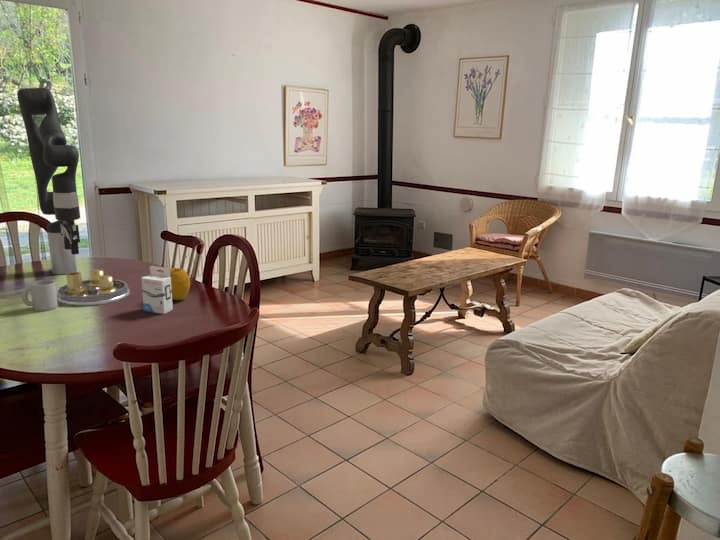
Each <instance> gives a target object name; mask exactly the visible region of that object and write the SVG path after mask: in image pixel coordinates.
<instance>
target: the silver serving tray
mask: <svg viewBox="0 0 720 540" xmlns="http://www.w3.org/2000/svg"><path fill="white" fill-rule="evenodd" d="M89 273H90V279H85V280H82V285H83V288H85V289H87V295H85V296H72V295H68V294H65V293H64V291H65V290H68V286H67V284H65V285H63V286H60V287H59V289H58V290H57V302H58V304H62V305H65V306H70V307H93V306H94V307H95V306H102V305H107V304H112V303H115V302H119V301H122V300H124V299H126V298H127V297H129V295H130V292H131V291H130V288H129V286H128V285H129V284H128V283H127V282H126V281H125V280H121V279H115V278H113V276H112V275H105V274H104V273H105V272H104V269H93V270H90V272H89Z"/></svg>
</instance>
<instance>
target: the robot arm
mask: <svg viewBox="0 0 720 540" xmlns="http://www.w3.org/2000/svg"><path fill="white" fill-rule="evenodd" d="M16 96H17V101H18V106H19V110H20V113H21V118H22V121H23V124H24V128H25V133H26V137H27V138H26V139H27V144H28V149H29V155H30V160H31V164H32V168H33V169H32V170H33V172H34V176H35V181H36V183H35V184H36V188H37V197H38V204H39V208H40V212H41V213H42V214H43V215H47V216H51V215H52V216H54V217H55V220H56V221H53V222H50V223H48V224H47V225H46V234H47V242H48V248H49V259H50V267H51V273H52V274H54V275H66V274H68V273H71V272H77V271H78V268H77V267H78V266H77V258H76V255H79V253H80V250H79V249H80V248H79V243H80V242H81V238H80V231H79V230H80V229H79V225H78V224H76V222H75V221H76V220H79V219H81V212H80V211H81V210H80V204H79V203H80V201H79V196H78V192H77V181H76V177H77V176H76V175H77V169H78V163H79V159H80V153H79V150H78V149H77V148H76V147H75V146H74V145H72V144H68V145H67V143H68V142H67V139H66V136H65V134H64V131H63V129H62V127H61V124H60V123H61V122H60V118H59V117H60V116H59V113H58V109H57V105H56V101H55V98H54V95H53V94H52V91H51V90H50V89H49V88H47V87H29V88H26V87H25V88H19V89H18V90H17V95H16ZM41 115H42V116H43V115H45V116H44V117H43V119H42V120H41V122H40V124H39V126H38V124H37V123H36V122H35V120H34V118H33V116H41ZM60 167H63V168H66V167H67V168H66V169H65V171H63V172H59V173H56V171H57V170H58V168H60ZM55 173H56V174H55ZM50 181H51V184H52V191H48V185H49V183H50Z"/></svg>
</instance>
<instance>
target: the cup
mask: <svg viewBox="0 0 720 540" xmlns="http://www.w3.org/2000/svg"><path fill="white" fill-rule="evenodd" d="M56 287H57V286H56V281H55V280H54V279H40V280H35V281H32V282H30V283H29V286H27V287H25V288H24V289H23V290H22V291H21V292H22V293H21V300H22V302H23V304H24V305H25V306H27V307H32V308H33V310H34V311H36V312H48V311H53V310H55V309H57V307H59V302H58V300H57V295H58V292H57V288H56ZM29 292H30V294H31V301H30V300H29V296H28V294H29Z"/></svg>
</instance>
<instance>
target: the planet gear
mask: <svg viewBox="0 0 720 540" xmlns="http://www.w3.org/2000/svg"><path fill="white" fill-rule="evenodd" d="M65 275H66V276H65V277H66V285H67V286H68V290H65V291H64V293H65V294H68V295H72V296H85V295H87V289H85V288H83V285H82V281H83V276H82V272H80V271H78V272H77V271H76V272H71V273H68V274H65Z"/></svg>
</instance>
